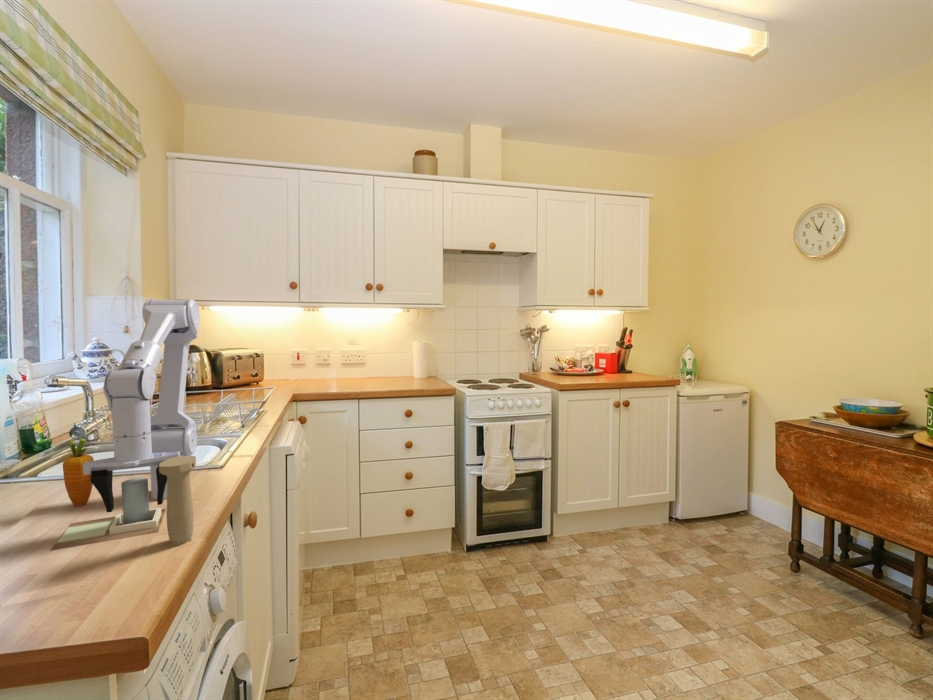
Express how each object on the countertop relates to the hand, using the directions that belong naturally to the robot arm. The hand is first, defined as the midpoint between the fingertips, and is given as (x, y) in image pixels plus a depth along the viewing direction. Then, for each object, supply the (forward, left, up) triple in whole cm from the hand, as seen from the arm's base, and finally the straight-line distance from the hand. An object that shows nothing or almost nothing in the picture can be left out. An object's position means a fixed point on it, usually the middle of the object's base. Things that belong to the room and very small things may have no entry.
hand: (135, 506), depth 88 cm
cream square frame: (0, 0, -3) cm, 3 cm away
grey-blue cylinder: (0, 0, -3) cm, 3 cm away
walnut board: (0, -3, -5) cm, 6 cm away
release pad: (0, -7, -3) cm, 8 cm away
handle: (+12, +8, -5) cm, 15 cm away
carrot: (-17, -12, -5) cm, 21 cm away
